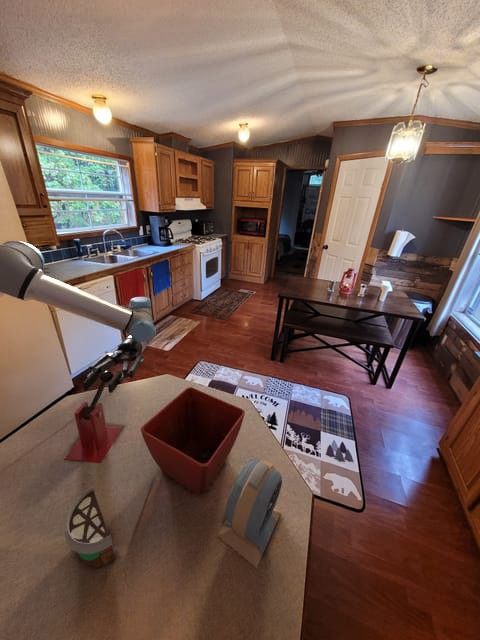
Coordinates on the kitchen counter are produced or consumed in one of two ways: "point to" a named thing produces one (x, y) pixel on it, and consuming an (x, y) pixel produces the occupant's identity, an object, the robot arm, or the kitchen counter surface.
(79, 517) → the multicoloured piece
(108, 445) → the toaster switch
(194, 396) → the flower pot
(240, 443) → the kitchen counter surface
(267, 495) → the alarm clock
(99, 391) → the lever
